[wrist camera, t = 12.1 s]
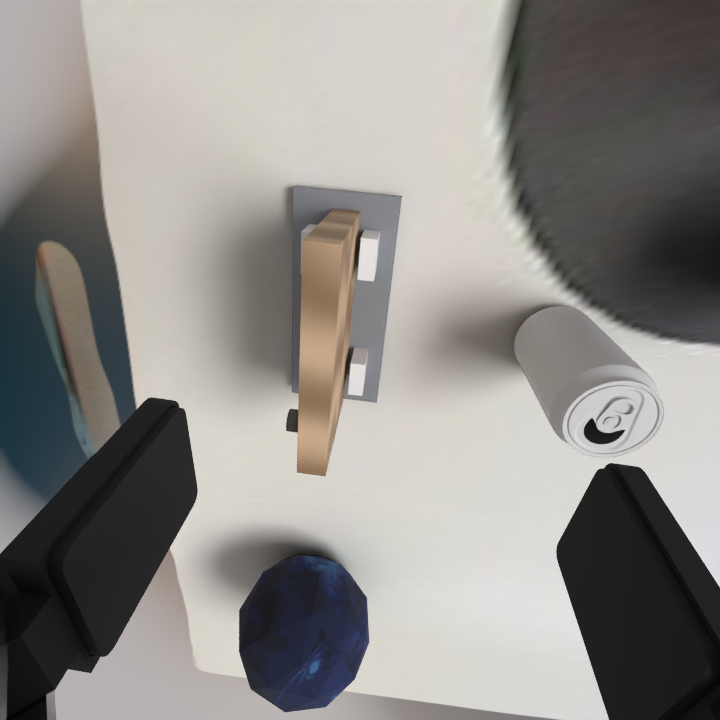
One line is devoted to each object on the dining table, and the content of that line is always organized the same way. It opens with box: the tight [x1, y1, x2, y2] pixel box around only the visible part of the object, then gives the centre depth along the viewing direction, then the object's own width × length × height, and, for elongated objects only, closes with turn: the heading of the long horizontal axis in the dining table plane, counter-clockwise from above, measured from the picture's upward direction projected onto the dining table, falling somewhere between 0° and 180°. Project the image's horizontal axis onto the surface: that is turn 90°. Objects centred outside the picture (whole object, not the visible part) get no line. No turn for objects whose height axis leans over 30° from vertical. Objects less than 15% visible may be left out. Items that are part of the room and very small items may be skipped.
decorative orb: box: [239, 556, 369, 712], centre depth 47 cm, size 14×15×15 cm
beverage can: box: [514, 306, 664, 458], centre depth 30 cm, size 6×6×12 cm
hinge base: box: [292, 186, 402, 403], centre depth 34 cm, size 18×8×4 cm, turn 175°
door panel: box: [286, 208, 361, 476], centre depth 30 cm, size 16×3×11 cm, turn 175°
